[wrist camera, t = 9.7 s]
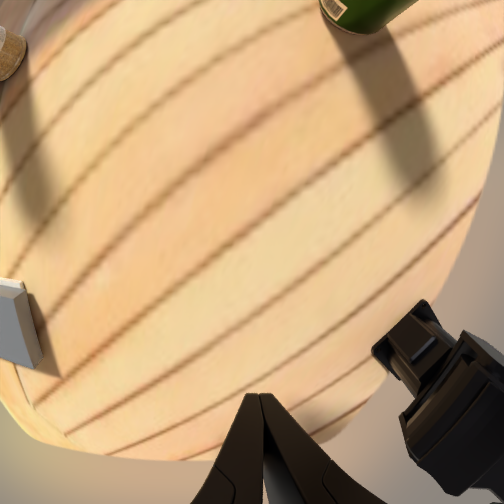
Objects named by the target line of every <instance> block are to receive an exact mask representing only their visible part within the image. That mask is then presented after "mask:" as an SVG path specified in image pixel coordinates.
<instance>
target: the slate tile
mask: <svg viewBox="0 0 504 504" xmlns="http://www.w3.org/2000/svg"><path fill="white" fill-rule="evenodd" d="M0 358H3V359H6V360H8V361H11V362H14V363H17V364H19V365H22V366H25V367H28V368H31V369H35V368H36V366H37V365H38V364H39V363H40V361H41V360H42V359H43V354H42V351H41V348H40V345H39V341H38V338H37V334H36V331H35V327H34V323H33V319H32V315H31V311H30V306H29V302H28V297H27V292H26V289H21V288H15V287H10V286H5V285H0Z"/></svg>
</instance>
